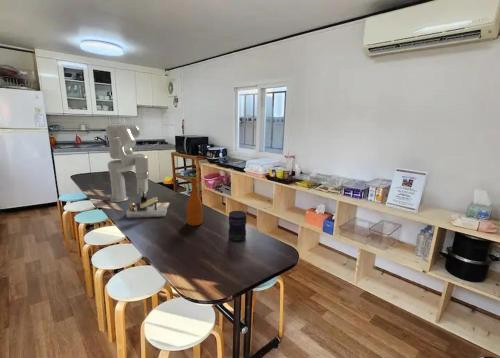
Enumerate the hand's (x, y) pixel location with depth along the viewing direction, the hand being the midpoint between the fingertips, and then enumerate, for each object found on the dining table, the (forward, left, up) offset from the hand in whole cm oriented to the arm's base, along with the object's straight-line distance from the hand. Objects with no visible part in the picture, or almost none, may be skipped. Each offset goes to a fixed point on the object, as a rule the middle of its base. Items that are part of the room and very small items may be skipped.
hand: (144, 202), depth 161 cm
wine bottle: (+32, -12, -11) cm, 36 cm away
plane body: (0, +6, -11) cm, 12 cm away
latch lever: (+3, 0, -1) cm, 3 cm away
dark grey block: (-3, +6, -7) cm, 9 cm away
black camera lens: (+56, -36, -11) cm, 68 cm away
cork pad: (+6, +22, -11) cm, 25 cm away
